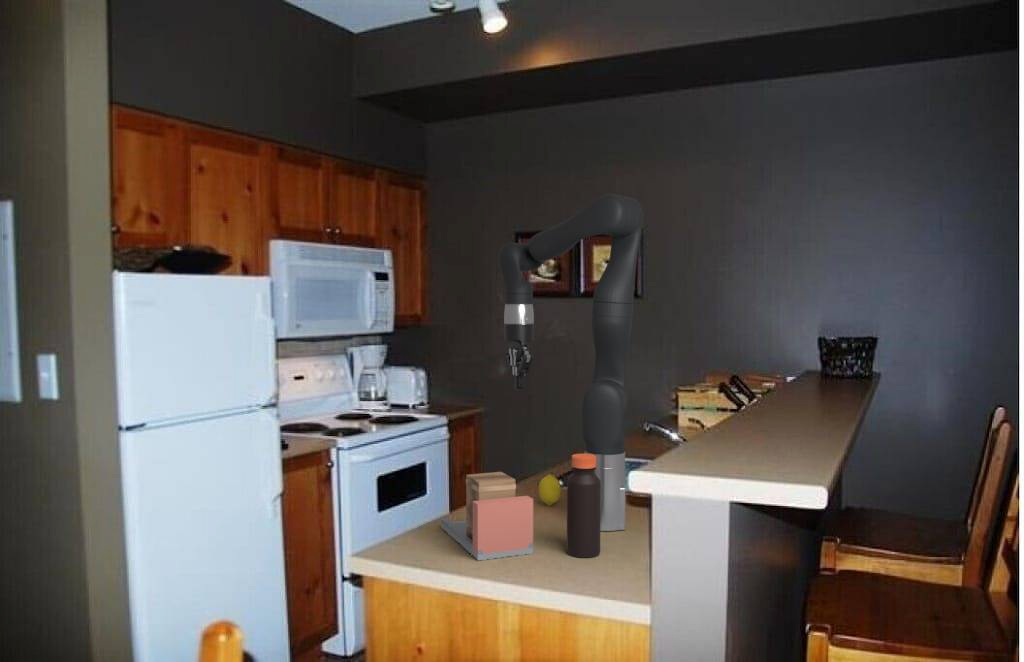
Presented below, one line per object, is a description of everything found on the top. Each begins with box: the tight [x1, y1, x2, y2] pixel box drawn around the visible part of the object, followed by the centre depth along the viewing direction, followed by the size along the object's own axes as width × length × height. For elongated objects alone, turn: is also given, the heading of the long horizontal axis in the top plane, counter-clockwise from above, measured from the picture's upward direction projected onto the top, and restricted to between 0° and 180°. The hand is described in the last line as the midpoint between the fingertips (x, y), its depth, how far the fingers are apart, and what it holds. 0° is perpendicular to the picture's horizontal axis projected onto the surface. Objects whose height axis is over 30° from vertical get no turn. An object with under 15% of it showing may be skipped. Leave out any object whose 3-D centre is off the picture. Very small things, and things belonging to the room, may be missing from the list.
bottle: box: [566, 453, 601, 559], centre depth 157 cm, size 7×7×20 cm
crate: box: [465, 471, 517, 540], centre depth 163 cm, size 8×8×13 cm
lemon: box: [538, 474, 561, 507], centre depth 195 cm, size 6×6×8 cm
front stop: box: [473, 495, 534, 555], centre depth 156 cm, size 3×12×10 cm, turn 112°
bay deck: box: [440, 517, 534, 562], centre depth 166 cm, size 24×12×2 cm, turn 22°
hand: (519, 390), depth 197 cm, fingers closed
